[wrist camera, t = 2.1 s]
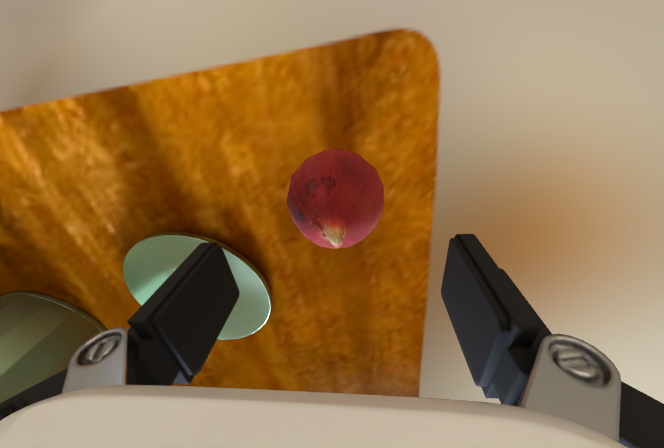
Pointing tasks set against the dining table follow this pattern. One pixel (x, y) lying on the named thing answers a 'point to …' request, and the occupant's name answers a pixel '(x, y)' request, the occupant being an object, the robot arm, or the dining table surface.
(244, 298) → the lid
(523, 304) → the robot arm
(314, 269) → the dining table surface
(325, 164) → the onion
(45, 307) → the pot
